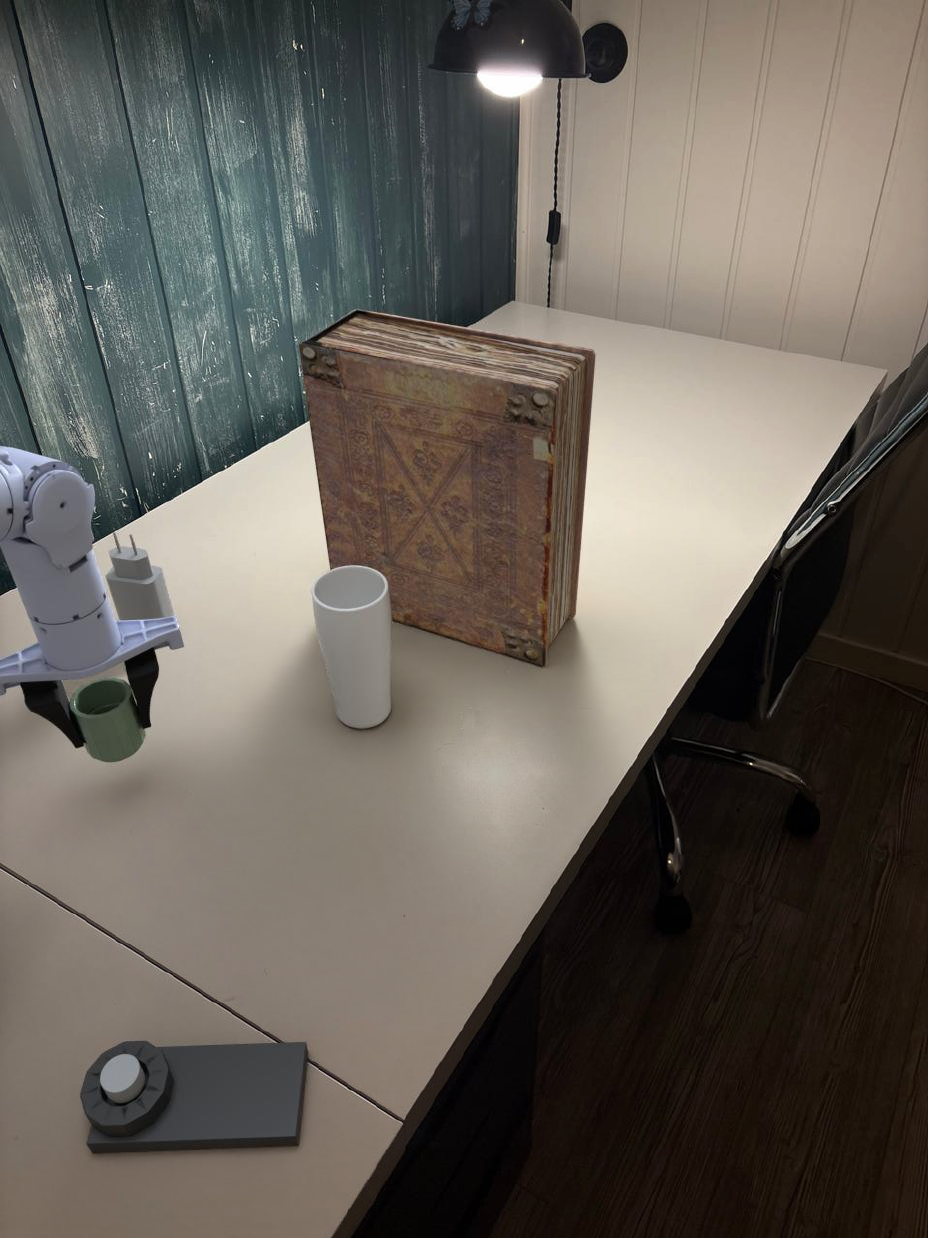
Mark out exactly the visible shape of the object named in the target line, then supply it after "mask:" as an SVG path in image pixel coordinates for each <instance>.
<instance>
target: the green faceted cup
mask: <svg viewBox="0 0 928 1238" xmlns="http://www.w3.org/2000/svg"><path fill="white" fill-rule="evenodd" d="M69 702H70V710H71V712H72V715H73V717H74V720H75V722H76V725H77V727H78V730H79V732H80V735H81V737H82V740H83V742H84V747H85V748H84V749H85V750H86V753H87V754H88V755H89V756H90V757H91V758H92V759H93V760H97V761H99V762H104V763H117V762H121V761H124V760H127V759H128V758H131V757H132V756H134V755H135V754H136V753H137V752H138V751H139V750H140V749H141V747H142V745H143V743H145V739H146V736H147V734H146V729H143V728H142V725H141V722H140V717H139V712H138V708H137V703H136V700H135V697H134V694H133V691H132V689H131V686H130V684H129V682H127V681H126V680H124V679H121V678H119V677H113V676H112V677H101V678H97V679H93V680H91V681H88V682H87V683H84V684H83V685H81V686H80V687H79V688H78V689H77V690H76V691H75V692H74V693H73V694H72V695H71V698H70V700H69Z"/></svg>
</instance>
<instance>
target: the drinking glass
mask: <svg viewBox="0 0 928 1238" xmlns="http://www.w3.org/2000/svg"><path fill="white" fill-rule="evenodd" d="M310 591H311V603H312V604H311V605H312V610H313V611H312V612H313V619H314V625H315V631H316V635H317V640H318V643H319V647H320V650H321V654H322V658H323V661H324V666H325V669H326V673H327V676H328V681H329V684H330V688H331V692H332V696H333V697H332V698H333V701H334V707H335V713H336V715H337V717H338V719H339V720H340V721H341V723H343V724H344V725H346V726H348V727H350V728H354V729H370V728H373V727H376V726H378V725H380V724H382V723H383V722H384V721H386V720H387V718H388V717H389V715H390V714H391V710H392V691H391V690H392V689H391V686H392V685H391V683H392V682H391V680H392V641H393V620H392V613H391V602H390V595H389V588H388V582H387V580H386V578H385V577H384V576H383V575H382V574H381V573H380V572H379V571H377V570H375V569H372V568H369V567H365V566H357V565H352V566H342V567H338V568H335V569H332V570H330V569H329V570H328V571H325V572H323V573H322V574H321V575H320V576H318V577H317V578H316V579H315V581H314V582H313V584H312V586H311V590H310Z"/></svg>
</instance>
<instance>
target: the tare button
mask: <svg viewBox="0 0 928 1238" xmlns="http://www.w3.org/2000/svg"><path fill="white" fill-rule="evenodd" d="M100 1082H101V1086H102V1087H103V1089H104V1091H105V1093H106V1094H107V1096H108V1098H109V1099H110V1100H111V1101H113V1102H115V1103H126V1102H129V1101H131V1100H133V1099H134V1098H135V1097H137V1096H138V1095H139V1093H140V1092H141V1091H142V1089H143V1087H144V1084H145V1074H144V1072H143V1070H142V1068H141V1066H140V1064H139V1062H138V1060H137V1059H136V1058H135V1057H134V1056H132V1055H129V1054H122V1055H118V1056H116V1057H114V1058H112V1059H111V1060H110V1061H109V1062H108V1063H107V1064H106V1065H105V1066H104V1068H103V1070H102V1072H101V1076H100Z"/></svg>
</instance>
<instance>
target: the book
mask: <svg viewBox="0 0 928 1238" xmlns="http://www.w3.org/2000/svg"><path fill="white" fill-rule="evenodd" d="M298 348H299V357H300V365H301V369H302V371H301V372H302V377H303V385H304V392H305V401H306V406H307V414H308V421H309V429H310V436H311V443H312V448H313V449H312V450H313V456H314V458H313V459H314V465H315V470H316V472H315V473H316V479H317V486H318V492H319V499H320V506H321V514H322V515H321V516H322V520H323V529H324V536H325V544H326V550H327V558H328V563H329V564H328V565H329V570H332V569H335V568H338V567H342V566H352V565H357V566H365V567H369V568H372V569H375V570H377V571H379V572H380V573H381V574H382V575H383V576H384V577H385V578H386V580H387V582H388V588H389V595H390V602H391V613H392V622H397V623H400V624H403V625H406V626H410V627H413V628H416V629H419V630H422V631H425V632H429V633H432V634H434V635H438V636H441V637H444V638H446V639H451V640H453V641H457V642H460V643H463V644H466V645H469V646H473V647H475V648H479V649H482V650H485V651H487V652H492V653H493V654H494V653H495V654H497V655H501V656H504V657H507V658H510V659H513V660H516V661H520V662H523V663H526V664H529V665H533V666H535V667H538V668H544V667H545V666H546V665H547V663H548V648H549V647H550V645H551V644H552V643H553V641H554V639H555V638H556V637H557V635H558V633H559V631H560V630H561V629H562V627H563V626H564V624H565V623H566V621H567V620H568V619H573V618H574V617H576V615H577V603H578V591H579V578H580V576H579V575H580V563H581V551H582V537H583V527H584V526H583V525H584V524H583V523H584V512H585V498H586V485H587V473H588V472H587V471H588V461H589V460H588V458H589V446H590V435H591V433H590V432H591V421H592V408H593V407H592V406H593V393H594V381H595V380H594V379H595V367H596V357H597V355H596V352H595V351H594V350H595V349H594V348H589V347H582V346H576V345H571V344H565V343H559V342H552V341H549V340H541V339H535V338H530V337H524V336H518V335H512V334H506V333H500V332H495V331H488V330H482V329H477V328H471V327H465V326H459V325H454V324H448V323H442V322H436V321H429V320H424V319H418V318H413V317H407V316H401V315H394V314H389V313H382V312H377V311H372V310H366V309H359V308H355V309H353V310H351V311H350V312H348V313H347V314H345V315H343V316H342V317H340V318H339V319H337V320H336V321H334V322H333V323H331V324H329V325H328V326H326V327H324V328H323V329H322V330H320V331H318V332H317V333H315V334H313V335H312V336H310V337H309V338H307V339H306V340H304V341H302V342H301V343H300V344H298Z"/></svg>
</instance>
